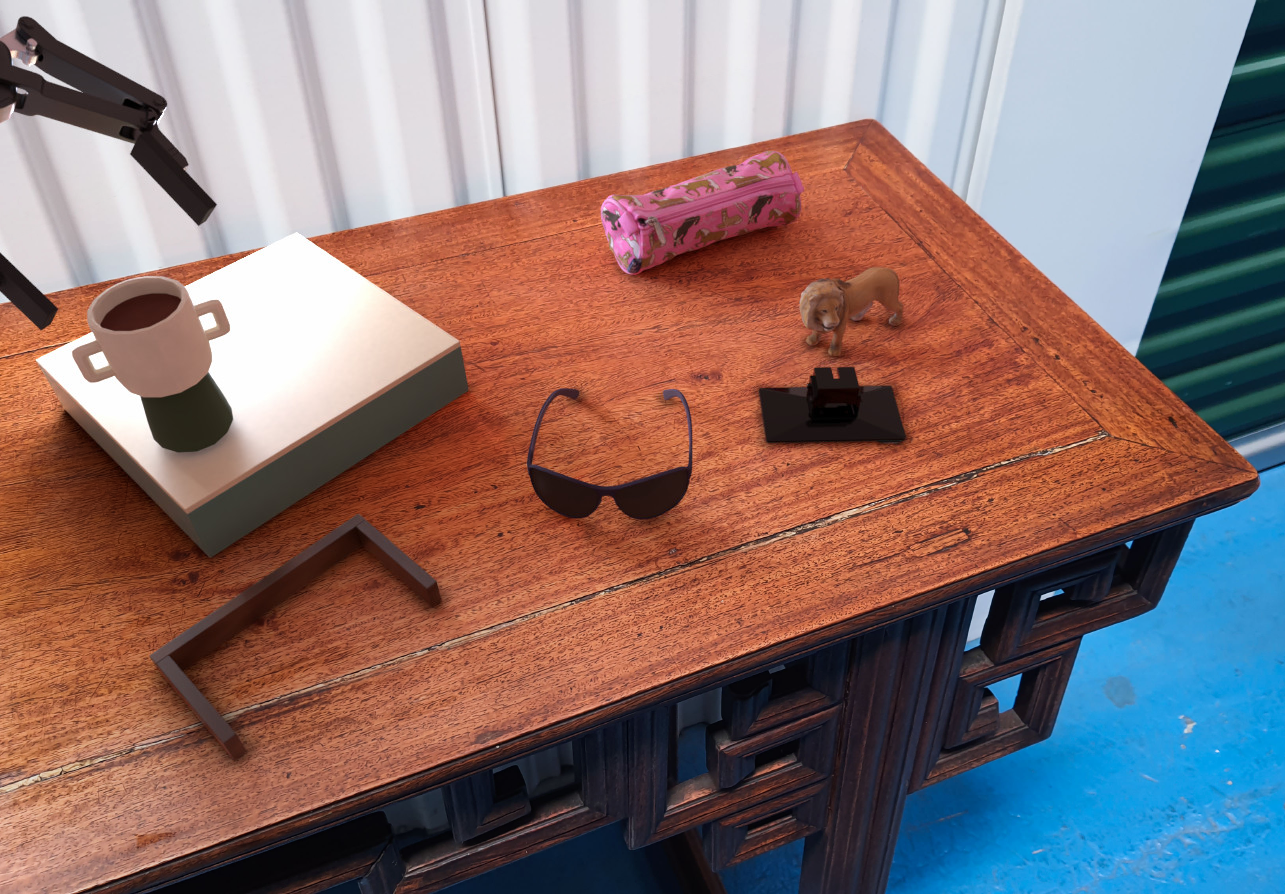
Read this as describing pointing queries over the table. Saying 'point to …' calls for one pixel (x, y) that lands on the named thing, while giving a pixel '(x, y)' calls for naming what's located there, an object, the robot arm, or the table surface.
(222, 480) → the cream square platform
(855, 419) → the build plate
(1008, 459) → the table surface
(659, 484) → the sunglasses
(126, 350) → the character mug
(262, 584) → the dark brown u-shaped bracket
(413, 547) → the table surface
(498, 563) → the table surface
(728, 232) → the pencil case
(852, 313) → the lion figurine
